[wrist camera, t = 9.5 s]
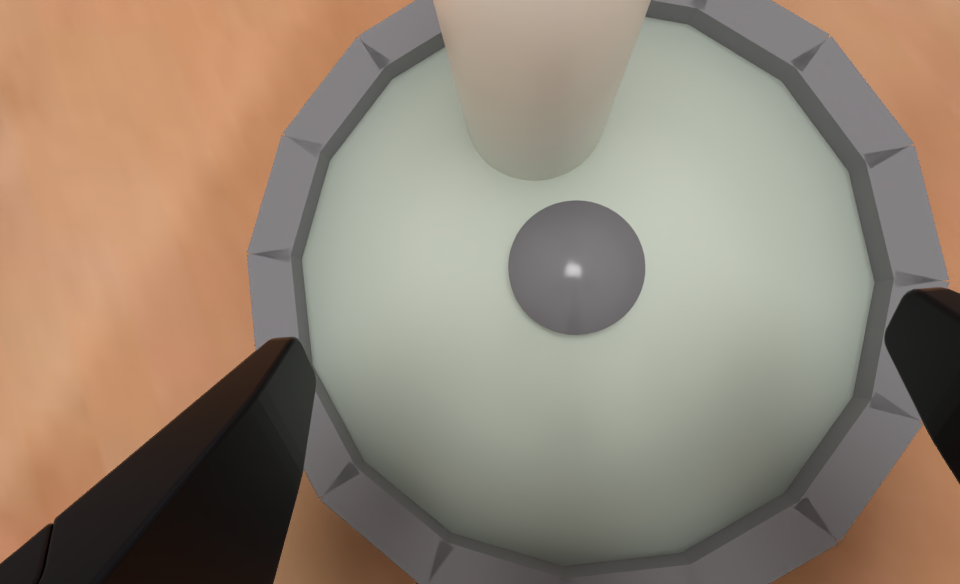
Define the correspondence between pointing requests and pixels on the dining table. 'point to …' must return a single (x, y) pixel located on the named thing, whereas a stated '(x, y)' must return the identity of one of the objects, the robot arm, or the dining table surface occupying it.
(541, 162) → the candle
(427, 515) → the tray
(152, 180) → the dining table surface
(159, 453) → the robot arm
